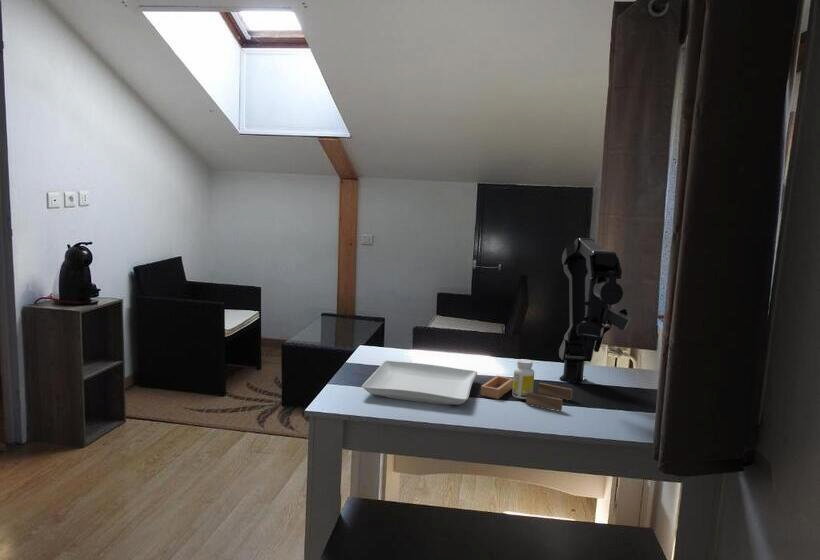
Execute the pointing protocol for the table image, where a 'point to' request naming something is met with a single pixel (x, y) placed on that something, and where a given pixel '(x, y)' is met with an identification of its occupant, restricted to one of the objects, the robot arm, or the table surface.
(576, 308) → the robot arm
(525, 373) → the supplement bottle
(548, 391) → the walled lane
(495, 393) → the trap pit
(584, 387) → the table surface
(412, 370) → the square plate
